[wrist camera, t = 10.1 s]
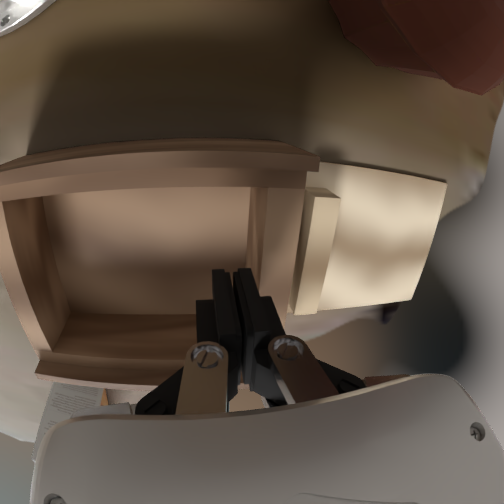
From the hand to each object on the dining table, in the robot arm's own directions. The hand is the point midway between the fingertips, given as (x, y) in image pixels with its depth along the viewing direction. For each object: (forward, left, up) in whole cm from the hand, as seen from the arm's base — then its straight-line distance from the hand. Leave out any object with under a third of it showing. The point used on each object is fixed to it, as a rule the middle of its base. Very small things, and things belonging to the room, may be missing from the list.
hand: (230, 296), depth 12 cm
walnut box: (0, -5, -6) cm, 8 cm away
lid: (+1, +11, -7) cm, 12 cm away
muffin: (-17, +10, -6) cm, 20 cm away
